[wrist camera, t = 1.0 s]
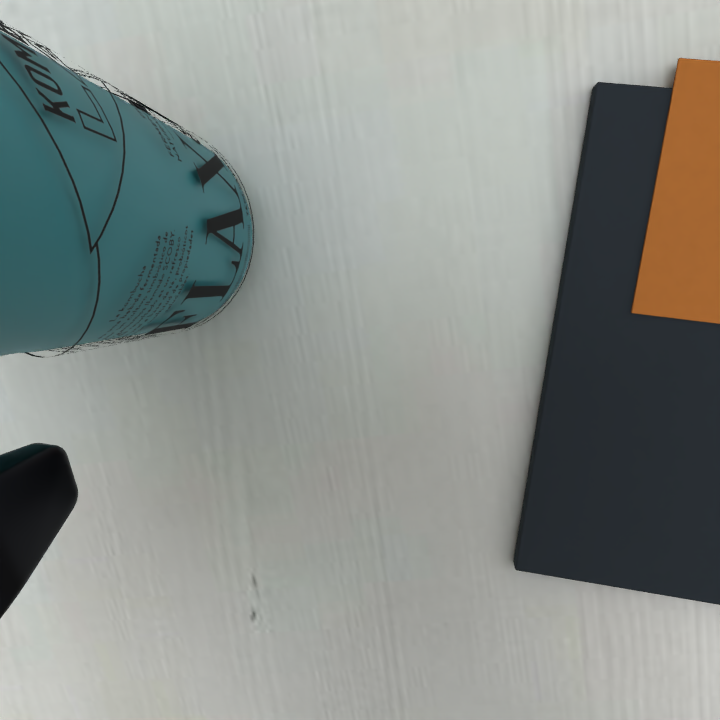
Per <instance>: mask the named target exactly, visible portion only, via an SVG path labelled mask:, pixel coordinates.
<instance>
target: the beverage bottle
mask: <svg viewBox="0 0 720 720" xmlns="http://www.w3.org/2000/svg"><path fill="white" fill-rule="evenodd" d="M1 23H2V20H1V21H0V26H1V27H2V28H3V29H2V28H1V27H0V30H2V31H4V32H6V33H7V34H9V35H11V36H13V37H14V38H16V39H18V40H20V41H21V42H23V43H25V44H27V43H26V42H25V41H24V40H23V39H22V38H25V37H24V36H23V35H25V34H23V33H22V32H21V33H20V31H19V30H18V31H17V30H16V31H17V32H18V33H20V34H21V35H22V36H23V37H22V38H21V36H19V35H17V34H16V33H15V32H14V31H12V30H11V29H12V28H11V29H10V28H9V27H7V26H5V25H6V24H5V25H3V24H4V23H2V24H1ZM4 27H5V28H7V29H9V30H10V31H12V32H13V33H15V34H13V33H10V32H8V31H7V30H6V29H5V28H4ZM13 28H14V27H13ZM13 30H15V29H13ZM2 31H0V356H2V355H8V354H14V353H26V354H29V355H31V356H35V355H32V354H30V353H27V352H36V351H43V350H46V351H47V350H49V351H52V350H50V349H56V348H62V347H68V346H72V347H71V348H70V347H68V348H65V349H68V350H71V349H72V348H74V346H75V345H79V344H84V345H85V343H91V342H94V343H95V342H96V343H98V342H97V341H102V340H108V341H111V340H109V339H114V338H120V337H122V339H124V337H125V338H126V337H131V336H132V335H137V334H139V335H141V336H142V334H143V333H146V334H145V335H147V336H150V335H148V334H154V333H160V332H165V331H171V330H176V329H182V328H185V329H186V328H188V327H190V326H192V325H193V324H195V323H197V322H199V321H200V320H202V319H204V318H206V317H208V316H209V315H211V314H213V313H214V312H215V311H216V312H218V309H219V308H221V307H222V305H223V304H225V303H226V301H228V299H229V298H230V297H231V296H232V294H233V293H234V292H235V290H236V289H237V287H238V286H239V284H240V282H241V280H242V279H243V277H244V274H245V272H246V269H247V267H248V263H249V259H250V256H251V258H252V255H251V249H252V253H253V247H252V223H251V216H250V212H249V208H248V205H247V202H246V199H245V196H244V194H243V192H242V189H241V187H240V185H239V183H238V181H237V179H235V177H234V176H235V175H234V173H231V171H232V170H231V169H230V168H229V166H228V167H227V166H226V165H225V164H224V163H223V161H225V160H223V161H222V160H221V159H219V158H218V156H217V155H216V154H215V153H214V152H212V151H210V150H209V149H207V148H206V147H205V146H203V145H202V144H200V142H199V141H198V140H197V141H196V140H195V139H193V138H192V136H191V135H190V134H191V133H190V134H189V133H188V132H189V131H188V132H186V133H185V132H184V131H183V129H182V128H181V126H180V125H179V126H178V127H179V128H180V129H181V130H182V131H181V130H180V129H179V130H180V131H181V132H183V133H184V134H185V135H184V134H182V133H181V132H179V131H177V130H175V129H173V128H172V127H173V126H172V127H170V126H169V125H166V124H165V122H164V123H163V121H162V122H161V121H160V120H159V119H156V117H152V116H151V114H149V113H148V111H147V110H146V109H145V108H147V109H149V111H150V110H151V111H153V112H155V113H156V114H158V115H160V116H162V117H163V118H165V119H167V120H168V121H169V122H172V123H174V122H173V121H171V120H169V119H168V118H166V117H164V116H163V115H161V114H159V113H158V112H156V111H154V110H152V109H151V108H149V107H147V106H146V105H144V104H142V103H141V102H139V101H138V100H136V99H134V98H132V97H130V96H128V95H127V94H126V93H125V94H124V93H123V91H121V92H122V93H121V92H120V93H121V94H122V95H123V94H124V95H126V96H128V98H129V99H130V100H129V99H128V98H127V100H128V101H129V102H130V104H129V103H127V102H126V101H124V100H122V99H120V98H119V97H122V96H119V95H117V94H114V93H112V92H110V90H109V89H108V88H107V87H106V85H105V84H104V83H106V81H105V82H104V81H101V80H102V79H101V80H100V81H101V82H102V83H103V82H104V83H103V84H104V86H105V87H106V88H107V89H108V91H107V90H104V89H103V88H104V87H99V86H97V85H96V84H94V83H92V82H90V81H88V80H87V79H85V78H83V77H81V76H82V75H83V74H82V75H81V76H80V73H75V72H74V71H75V69H74V70H72V68H71V69H70V68H69V67H68V68H69V69H70V70H69V69H67V68H65V67H64V66H62V65H60V64H58V63H57V62H56V61H55V60H53V59H52V58H51V57H49V56H48V55H46V54H45V53H44V52H42V51H41V50H40V51H41V52H42V53H44V54H45V55H46V56H48V57H49V58H48V57H46V56H44V55H42V54H41V53H39V52H37V51H35V50H34V49H32V48H30V47H28V46H29V45H28V44H27V45H28V46H26V45H25V44H23V43H21V42H19V41H18V40H16V39H14V38H12V37H11V36H9V35H7V34H5V33H3V32H2ZM15 35H16V36H18V37H19V38H18V37H16V36H15ZM25 36H28V35H25ZM28 37H29V36H28ZM30 38H31V37H30ZM25 39H26V38H25ZM32 39H33V38H32ZM26 40H27V41H28V39H26ZM30 41H31V40H30ZM28 42H29V41H28ZM32 42H33V41H32ZM29 43H30V42H29ZM39 43H40V42H39ZM30 44H31V43H30ZM34 44H35V42H34ZM31 45H32V44H31ZM35 45H36V46H38V47H39V48H40V47H43V48H44V46H42V45H39V44H37V43H36V44H35ZM32 46H34V45H32ZM34 47H35V46H34ZM35 48H36V47H35ZM45 48H46V46H45ZM37 49H38V48H37ZM41 49H42V48H41ZM47 49H48V48H46V50H47ZM38 50H39V49H38ZM42 50H43V49H42ZM48 50H49V51H50V49H48ZM48 50H47V51H48ZM44 51H45V50H44ZM49 51H48V52H49ZM45 52H46V51H45ZM48 52H46V53H48ZM50 52H51V51H50ZM50 52H49V53H50ZM49 53H48V54H49ZM51 53H52V52H51ZM51 53H50V54H51ZM50 54H49V55H50ZM52 54H53V53H52ZM52 54H51V56H52V57H53V58H55V57H54V56H55V55H54V54H53V55H54V56H53V55H52ZM57 54H58V53H57ZM56 57H57V56H56ZM57 58H58V57H57ZM64 58H65V57H64ZM51 59H52V60H51ZM55 59H56V58H55ZM58 59H59V58H58ZM56 60H57V59H56ZM59 60H60V59H59ZM60 61H61V60H60ZM61 62H62V61H61ZM71 62H72V61H71ZM62 63H63V62H62ZM63 64H64V63H63ZM64 65H65V64H64ZM65 66H66V65H65ZM78 66H79V65H78ZM66 67H67V66H66ZM81 68H82V67H81ZM76 71H77V69H76ZM78 71H79V70H78ZM79 72H80V71H79ZM82 72H83V71H82ZM82 72H81V73H82ZM78 74H79V75H78ZM85 74H86V73H85ZM87 74H89V72H88V73H87ZM90 75H92V74H90ZM84 76H85V77H86V75H84ZM87 77H88V76H87ZM90 77H91V76H89V78H90ZM94 77H96V76H93V77H92V78H94ZM97 78H98V77H97ZM97 78H95V79H97ZM99 79H100V78H99ZM99 79H98V80H99ZM108 84H109V83H108ZM109 85H110V84H109ZM113 88H114V86H113ZM115 88H116V87H115ZM116 90H117V89H116ZM118 91H120V90H117V92H118ZM113 94H114V95H113ZM115 95H117V96H119V97H117V96H115ZM126 96H124V97H125V98H124V97H122V98H124V99H126ZM131 99H133V100H134V101H136V102H137V103H138V104H137V103H135V102H133V101H132V100H131ZM142 105H143V106H142ZM144 106H145V108H144ZM151 111H150V112H151ZM151 113H152V112H151ZM152 114H153V113H152ZM153 115H154V114H153ZM167 120H166V121H167ZM167 123H168V122H167ZM170 124H171V123H170ZM175 124H176V123H174V124H173V125H175ZM176 125H178V124H176ZM176 125H175V127H176ZM178 127H176V128H178ZM185 131H186V130H185ZM193 134H194V133H193ZM186 135H190V136H191V138H192V139H191V138H189V137H188V136H186ZM196 136H197V135H196ZM199 138H200V137H199ZM206 143H208V142H206ZM209 146H210V145H209ZM210 147H211V146H210ZM211 148H212V147H211ZM215 151H216V150H215ZM216 152H217V151H216ZM217 153H218V152H217ZM219 153H220V152H219ZM219 153H218V154H219ZM220 154H221V153H220ZM221 155H222V154H221ZM222 156H223V155H222ZM223 157H224V156H223ZM221 158H222V157H221ZM222 159H223V158H222ZM227 162H228V161H227ZM225 163H226V162H225ZM228 163H229V162H228ZM226 164H227V163H226ZM229 164H230V163H229ZM231 167H232V166H231ZM232 168H233V167H232ZM229 169H230V170H229ZM233 170H234V169H233ZM234 171H235V170H234ZM235 173H236V172H235ZM236 174H237V173H236ZM233 175H234V176H233ZM237 176H238V175H237ZM238 177H239V176H238ZM239 179H240V178H239ZM240 181H241V180H240ZM241 183H242V182H241ZM242 185H243V184H242ZM243 187H244V186H243ZM244 190H245V188H244ZM245 192H246V191H245ZM246 195H247V194H246ZM247 198H248V196H247ZM248 201H249V199H248ZM249 205H250V202H249ZM250 209H251V206H250ZM251 213H252V211H251ZM252 221H253V215H252ZM253 245H254V224H253ZM250 262H251V259H250ZM249 266H250V263H249ZM248 269H249V267H248ZM247 272H248V270H247ZM246 274H247V273H246ZM245 277H246V275H245ZM244 280H245V278H244ZM244 280H243V282H244ZM243 282H242V283H243ZM241 285H242V284H241ZM240 287H241V286H240ZM239 289H240V288H239ZM239 289H238V291H239ZM238 291H237V292H238ZM236 294H237V293H236ZM236 294H235V295H236ZM235 295H234V296H235ZM233 298H234V297H233ZM233 298H232V299H233ZM231 301H232V300H231ZM231 301H230V302H231ZM230 302H229V303H230ZM229 303H228V304H229ZM228 304H227V305H228ZM227 305H226V306H227ZM226 306H225V307H226ZM225 307H224V308H225ZM224 308H223V309H224ZM220 312H221V311H220ZM220 312H219V313H220ZM219 313H218V314H219ZM215 316H216V315H215ZM215 316H214V317H215ZM209 317H210V316H209ZM209 317H208V318H206V319H205V320H204V321H206V320H207V319H209ZM210 320H211V319H210ZM208 321H209V320H208ZM202 322H203V321H202ZM200 323H201V322H200ZM203 324H204V323H203ZM201 325H202V324H201ZM199 326H200V325H199ZM194 327H195V326H194ZM189 329H190V328H189ZM192 329H193V328H192ZM182 332H183V331H182ZM173 334H174V333H173ZM141 336H138V335H137V337H136V338H137V339H139V338H140V337H141ZM143 336H144V335H143ZM151 336H152V335H151ZM154 337H155V336H154ZM157 337H158V336H157ZM136 338H135V337H133V338H130V339H136ZM141 338H142V337H141ZM146 338H147V337H146ZM152 338H153V337H152ZM142 339H144V337H143V338H142ZM147 339H148V338H147ZM116 340H117V339H116ZM118 340H121V338H120V339H118ZM134 341H135V340H134ZM136 341H137V340H136ZM102 342H104V341H102ZM131 342H132V341H131ZM108 343H110V342H107V344H108ZM112 343H114V342H112ZM112 343H111V344H112ZM115 343H116V342H115ZM115 343H114V344H115ZM118 343H121V342H118ZM126 343H127V342H126ZM92 344H93V343H92ZM102 344H104V343H102ZM105 344H106V343H105ZM87 345H88V344H87ZM90 345H91V344H90ZM115 345H116V344H115ZM80 346H81V345H80ZM85 346H86V345H85ZM92 346H94V345H92ZM96 346H97V345H96ZM110 346H111V345H110ZM76 347H78V346H76ZM105 347H106V346H105ZM69 348H70V349H69ZM62 349H64V348H62ZM78 349H79V348H77V350H78ZM94 349H95V348H94ZM57 350H59V349H57ZM68 350H67V351H62V352H63V353H65V352H69V351H68ZM74 350H76V349H75V348H74ZM80 350H81V349H80ZM89 350H90V349H89ZM84 351H85V350H84ZM58 352H60V351H58ZM72 352H73V351H72ZM63 353H62V354H63ZM73 353H74V352H73ZM68 354H69V353H68ZM59 355H60V354H59ZM59 355H58V356H59ZM63 355H64V354H63ZM56 356H57V355H56ZM36 357H41V356H36ZM52 357H53V356H52ZM42 358H43V357H42Z"/></svg>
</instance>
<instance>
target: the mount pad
mask: <svg viewBox="0 0 720 720" xmlns="http://www.w3.org/2000/svg"><path fill="white" fill-rule="evenodd" d="M513 562H514V566H515V569H516V570H519V571H525V572H530V573H536V574H542V575H548V576H554V577H560V578H566V579H572V580H578V581H584V582H589V583H595V584H601V585H607V586H613V587H619V588H625V589H631V590H637V591H643V592H648V593H654V594H660V595H666V596H672V597H678V598H684V599H690V600H696V601H702V602H707V603H713V604H719V605H720V61H711V60H698V59H685V58H679V59H678V63H677V68H676V74H675V79H674V84H673V88H664V87H652V86H640V85H627V84H615V83H603V82H598V83H597V84H596V85H595V86H594V87H593V89H592V95H591V101H590V107H589V113H588V119H587V125H586V131H585V137H584V143H583V149H582V155H581V161H580V167H579V173H578V178H577V184H576V190H575V196H574V202H573V208H572V214H571V220H570V226H569V232H568V238H567V244H566V250H565V256H564V262H563V268H562V274H561V280H560V286H559V292H558V298H557V304H556V310H555V316H554V322H553V328H552V334H551V340H550V346H549V352H548V358H547V364H546V370H545V376H544V382H543V388H542V394H541V400H540V406H539V411H538V417H537V423H536V429H535V435H534V441H533V447H532V453H531V459H530V465H529V471H528V477H527V483H526V489H525V495H524V501H523V507H522V513H521V519H520V525H519V531H518V537H517V543H516V549H515V555H514V561H513Z"/></svg>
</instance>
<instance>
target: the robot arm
mask: <svg viewBox="0 0 720 720" xmlns="http://www.w3.org/2000/svg"><path fill="white" fill-rule="evenodd" d="M77 497H78V489H77V485H76V482H75V479H74V475H73V472H72V469H71V466H70V462H69V459H68V456H67V454H66V452H65V451H64V449H63V448H61V447H59V446H56V445H50V444H43V443H34V444H30V445H27V446H24V447H22V448H19V449H16V450H13V451H10V452H7V453H5V454H2V455H0V618H1V617H2V616H3V614H4V613H5V612H6V611H7V609H8V608H9V606H10V605H11V604H12V602H13V601H14V600H15V598H16V597H17V595H18V594H19V593H20V591H21V590H22V588H23V587H24V585H25V584H26V582H27V581H28V579H29V577H30V576H31V574H32V573H33V571H34V570H35V568H36V566H37V565H38V563H39V562H40V560H41V559H42V557H43V555H44V554H45V552H46V551H47V549H48V547H49V546H50V544H51V543H52V541H53V540H54V538H55V536H56V535H57V533H58V532H59V530H60V529H61V527H62V525H63V524H64V522H65V521H66V519H67V518H68V516H69V514H70V513H71V511H72V510H73V508H74V506H75V504H76V501H77Z"/></svg>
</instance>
